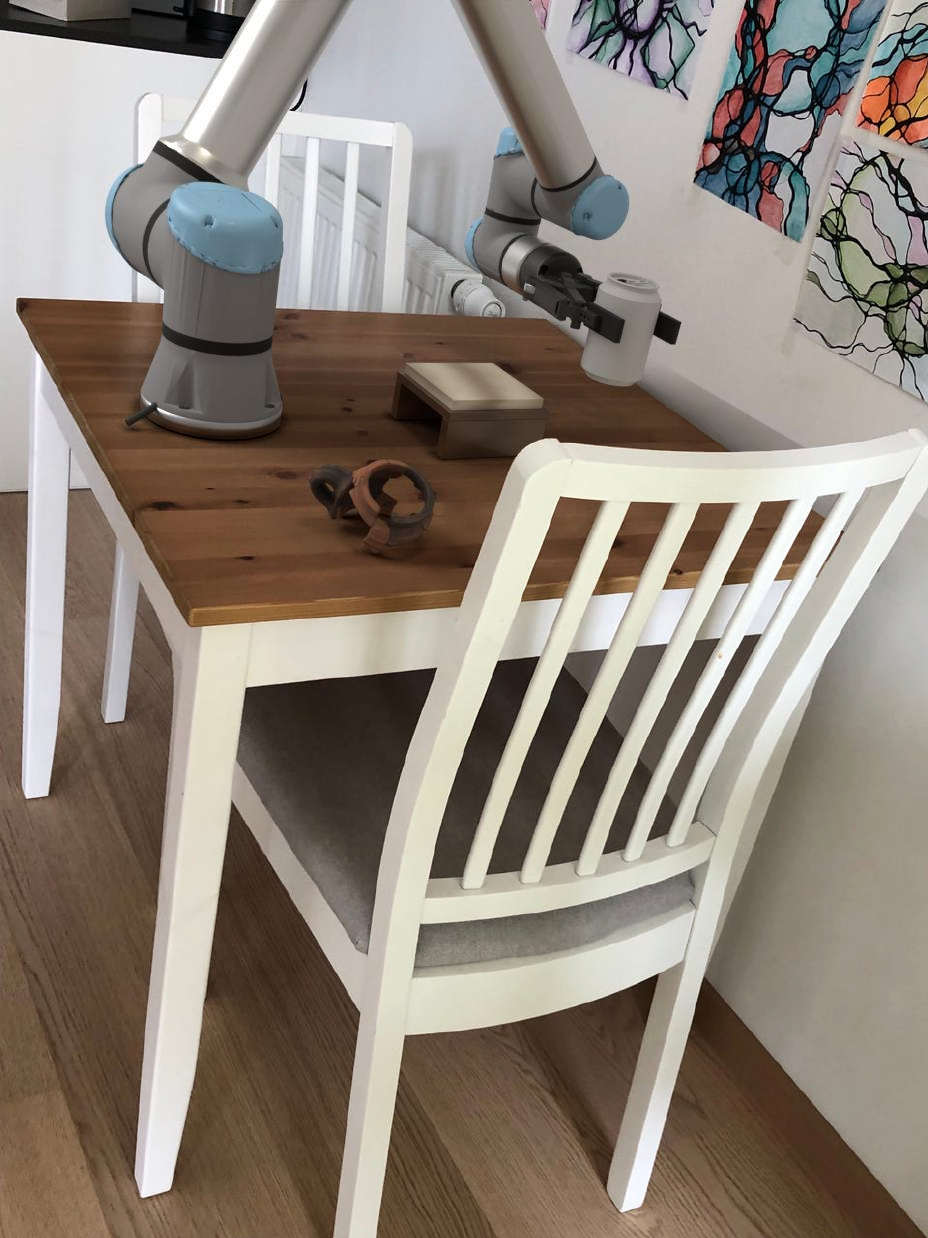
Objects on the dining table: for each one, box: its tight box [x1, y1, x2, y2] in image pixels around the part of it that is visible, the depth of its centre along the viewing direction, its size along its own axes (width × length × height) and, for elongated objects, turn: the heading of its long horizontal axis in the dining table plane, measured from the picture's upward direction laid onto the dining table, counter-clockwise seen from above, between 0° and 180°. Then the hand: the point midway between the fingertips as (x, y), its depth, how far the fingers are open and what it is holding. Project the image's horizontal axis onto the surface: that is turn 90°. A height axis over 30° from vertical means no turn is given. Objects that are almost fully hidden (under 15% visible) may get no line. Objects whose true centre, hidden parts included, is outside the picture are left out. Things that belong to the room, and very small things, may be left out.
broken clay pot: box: [308, 458, 436, 554], centre depth 116 cm, size 12×10×8 cm
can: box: [580, 271, 663, 387], centre depth 146 cm, size 8×8×12 cm
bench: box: [390, 362, 550, 460], centre depth 143 cm, size 13×13×7 cm
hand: (648, 332), depth 141 cm, fingers closed on can, 7 cm apart
